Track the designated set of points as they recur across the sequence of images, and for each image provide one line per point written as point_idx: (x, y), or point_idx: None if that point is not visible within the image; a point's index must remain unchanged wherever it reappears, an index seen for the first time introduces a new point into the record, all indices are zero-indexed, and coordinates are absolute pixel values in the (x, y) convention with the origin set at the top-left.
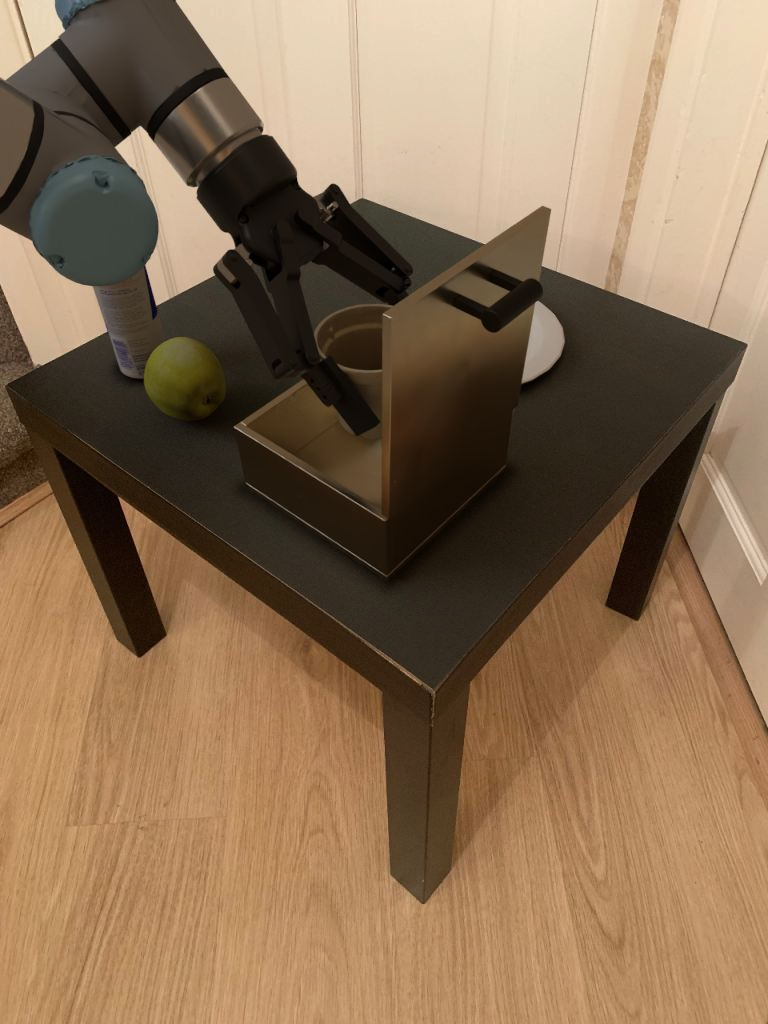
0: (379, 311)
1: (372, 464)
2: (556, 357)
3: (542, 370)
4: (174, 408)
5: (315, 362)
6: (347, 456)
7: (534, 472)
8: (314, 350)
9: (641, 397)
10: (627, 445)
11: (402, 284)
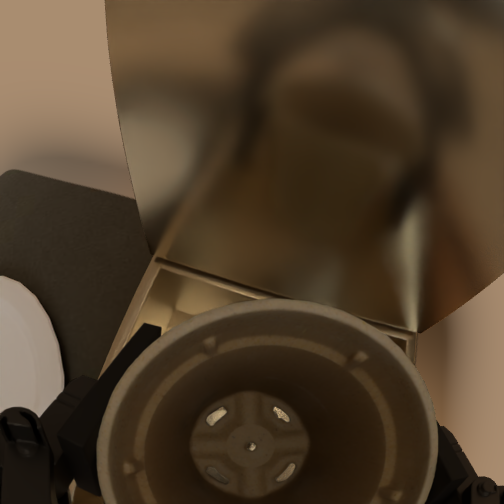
0: (123, 496)
1: None
2: (6, 278)
3: (23, 288)
4: None
5: (482, 480)
6: (226, 479)
7: None
8: (480, 500)
9: (49, 209)
10: (109, 207)
11: (28, 437)
